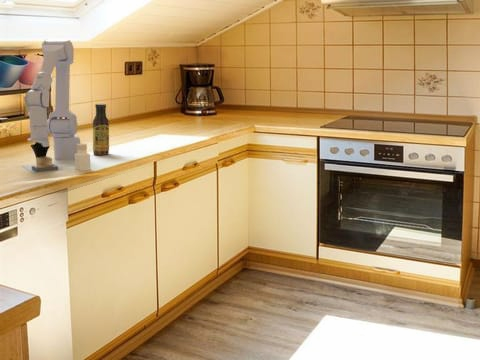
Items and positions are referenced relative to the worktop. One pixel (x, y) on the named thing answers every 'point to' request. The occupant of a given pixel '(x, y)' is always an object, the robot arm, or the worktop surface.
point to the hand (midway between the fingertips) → (41, 164)
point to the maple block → (43, 162)
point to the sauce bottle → (100, 131)
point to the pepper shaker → (82, 158)
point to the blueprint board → (39, 170)
